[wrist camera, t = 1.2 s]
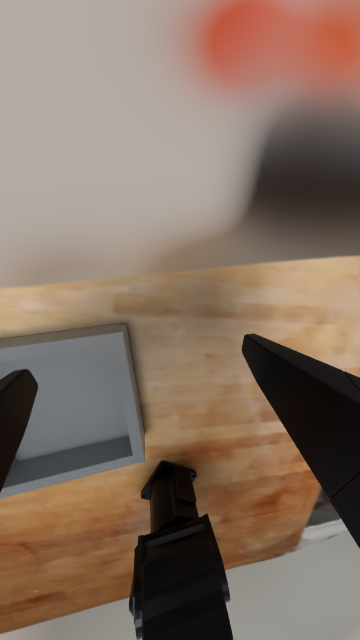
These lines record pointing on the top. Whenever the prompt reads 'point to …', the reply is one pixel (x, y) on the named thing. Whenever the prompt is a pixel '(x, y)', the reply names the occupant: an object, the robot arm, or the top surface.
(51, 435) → the tray
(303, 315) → the top surface
